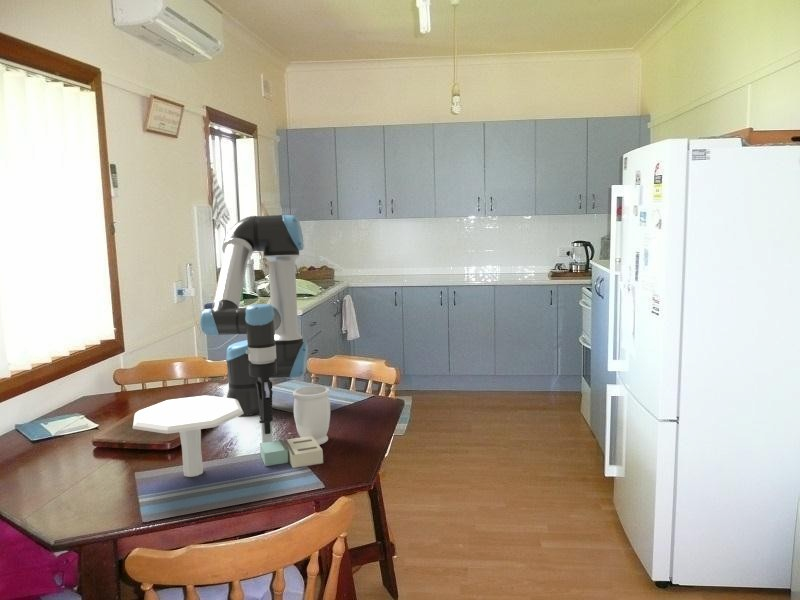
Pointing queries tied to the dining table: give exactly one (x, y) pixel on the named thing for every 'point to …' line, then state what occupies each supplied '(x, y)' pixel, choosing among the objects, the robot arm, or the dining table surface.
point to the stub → (274, 452)
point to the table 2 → (188, 423)
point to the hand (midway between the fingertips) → (267, 443)
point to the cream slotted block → (303, 451)
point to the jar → (312, 412)
